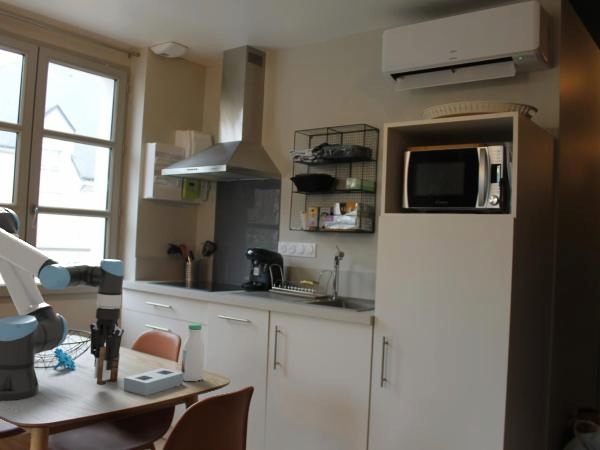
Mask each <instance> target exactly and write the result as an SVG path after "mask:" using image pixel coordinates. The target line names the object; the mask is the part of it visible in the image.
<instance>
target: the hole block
mask: <svg viewBox="0 0 600 450" xmlns="http://www.w3.org/2000/svg"><path fill="white" fill-rule="evenodd" d="M183 376H184V373H182V372H181V371H177V370H173V369H168V368H163V367H160V368H157V369H153V370H150V371H144V372H142V373H137V374H134V375H129V376H126V377H124V378H123V389H122V390H123V391H127V392H131V393H133V394H134V393H135V394H138V395H142V396H149V395H152V394H155V393H158V392H159V393H160V392H162V391H165V390H170V389H171V388H176V387H178V386H177V385H179V386H181V385H180V384H182V385H184V381H183ZM175 386H176V387H175Z"/></svg>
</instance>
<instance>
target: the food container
mask: <svg viewBox="0 0 600 450" xmlns="http://www.w3.org/2000/svg"><path fill="white" fill-rule="evenodd" d="M119 362H120V352H119V356H118V358H117V359H114V360H113V365H112V370H111V375H110V379H108V380H107V382H117V381H118V375H119V366H120V365H119Z"/></svg>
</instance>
